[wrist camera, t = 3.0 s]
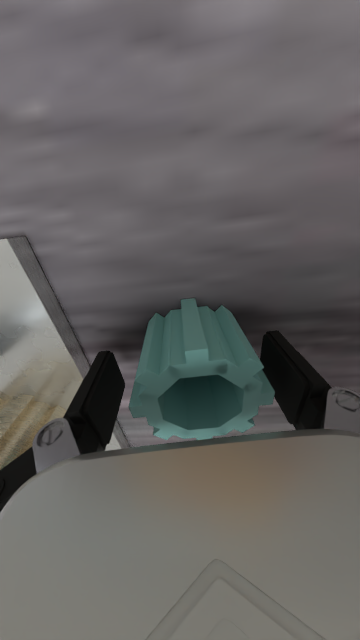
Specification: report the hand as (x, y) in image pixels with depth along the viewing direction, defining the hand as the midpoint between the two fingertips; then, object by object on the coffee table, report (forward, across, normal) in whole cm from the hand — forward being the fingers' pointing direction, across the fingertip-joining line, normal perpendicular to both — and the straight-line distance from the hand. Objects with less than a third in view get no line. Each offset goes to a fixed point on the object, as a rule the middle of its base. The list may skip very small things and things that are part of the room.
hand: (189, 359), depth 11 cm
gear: (+2, 0, 0) cm, 2 cm away
